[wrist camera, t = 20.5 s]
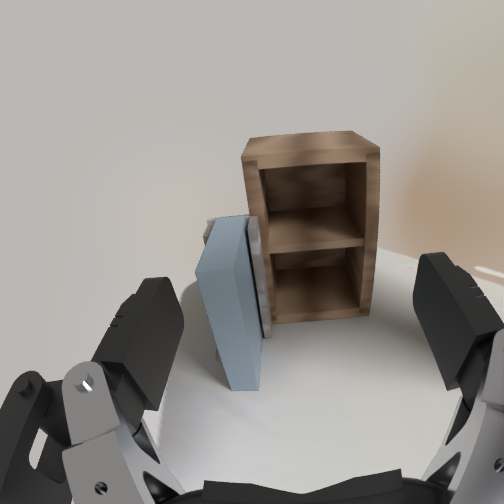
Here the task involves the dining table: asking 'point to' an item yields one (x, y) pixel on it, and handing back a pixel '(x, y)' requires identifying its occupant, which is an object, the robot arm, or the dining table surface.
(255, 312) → the door
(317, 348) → the dining table surface
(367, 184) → the cabinet
